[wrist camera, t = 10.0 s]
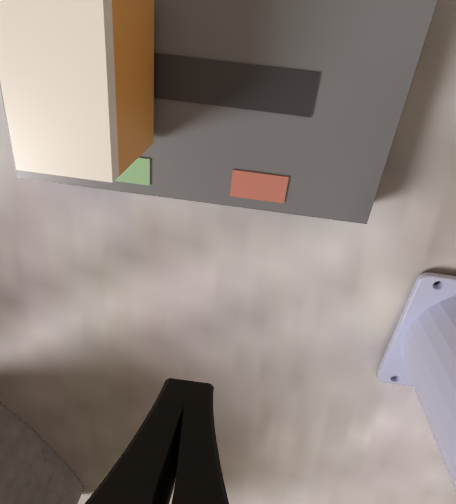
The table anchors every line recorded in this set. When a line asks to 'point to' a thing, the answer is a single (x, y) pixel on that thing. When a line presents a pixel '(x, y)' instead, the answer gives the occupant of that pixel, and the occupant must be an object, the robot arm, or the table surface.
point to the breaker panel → (275, 103)
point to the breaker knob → (78, 84)
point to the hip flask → (32, 467)
